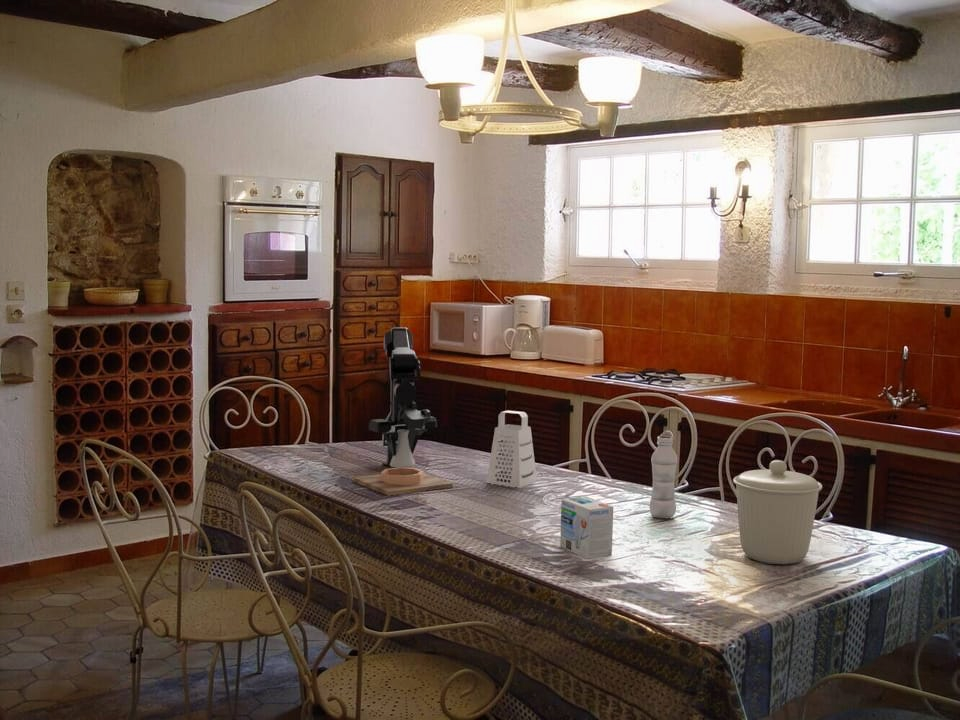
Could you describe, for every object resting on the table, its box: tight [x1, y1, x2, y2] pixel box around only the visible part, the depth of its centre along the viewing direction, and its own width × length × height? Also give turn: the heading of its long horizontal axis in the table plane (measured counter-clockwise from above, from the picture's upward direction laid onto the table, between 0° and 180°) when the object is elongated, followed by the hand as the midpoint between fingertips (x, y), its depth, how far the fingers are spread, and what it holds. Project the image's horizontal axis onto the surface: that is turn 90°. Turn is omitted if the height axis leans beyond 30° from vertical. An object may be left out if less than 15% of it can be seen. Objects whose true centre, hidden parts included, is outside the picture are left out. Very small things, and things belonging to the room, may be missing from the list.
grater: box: [486, 409, 538, 489], centre depth 283 cm, size 10×10×20 cm
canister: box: [732, 459, 823, 565], centre depth 214 cm, size 18×18×21 cm
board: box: [352, 472, 453, 497], centre depth 279 cm, size 20×20×1 cm
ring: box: [380, 467, 425, 485], centre depth 279 cm, size 11×11×2 cm
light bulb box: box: [559, 495, 614, 560], centre depth 217 cm, size 11×7×11 cm, turn 29°
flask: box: [389, 430, 417, 468], centre depth 278 cm, size 7×7×10 cm
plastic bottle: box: [648, 435, 679, 519], centre depth 246 cm, size 6×7×20 cm
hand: (402, 454), depth 278 cm, fingers closed on flask, 5 cm apart
